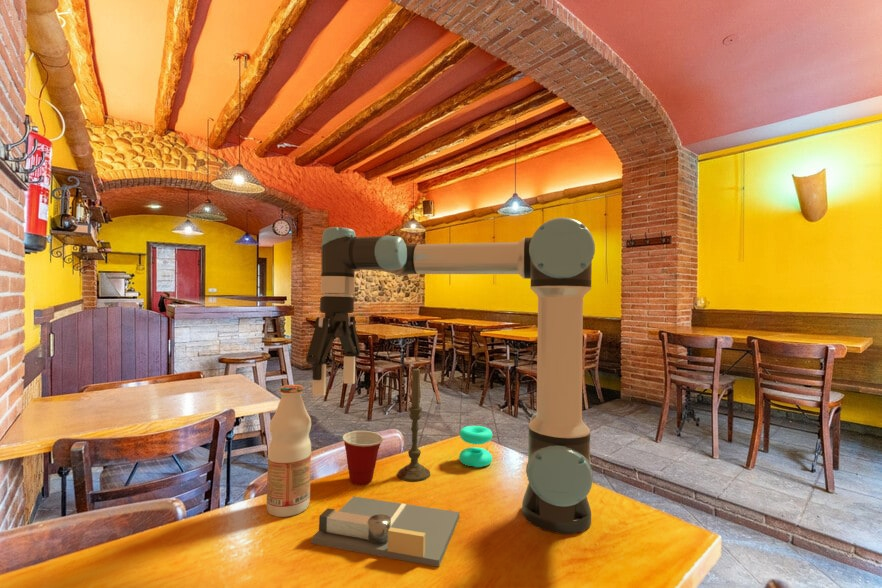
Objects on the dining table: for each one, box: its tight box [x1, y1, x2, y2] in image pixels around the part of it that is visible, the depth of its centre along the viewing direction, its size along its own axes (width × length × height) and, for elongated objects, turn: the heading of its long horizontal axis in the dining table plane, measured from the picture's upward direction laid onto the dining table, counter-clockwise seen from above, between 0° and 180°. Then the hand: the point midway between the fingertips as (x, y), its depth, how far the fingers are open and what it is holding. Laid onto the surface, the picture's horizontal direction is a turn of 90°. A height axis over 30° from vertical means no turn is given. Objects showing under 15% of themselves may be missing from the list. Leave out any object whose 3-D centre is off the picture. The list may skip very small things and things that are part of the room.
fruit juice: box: [266, 384, 312, 518], centre depth 95 cm, size 9×9×28 cm
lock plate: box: [311, 496, 460, 568], centre depth 86 cm, size 26×18×5 cm
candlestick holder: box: [397, 367, 431, 482], centre depth 115 cm, size 9×9×30 cm
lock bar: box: [318, 508, 391, 543], centre depth 82 cm, size 14×4×3 cm, turn 75°
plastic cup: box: [342, 430, 384, 486], centre depth 110 cm, size 11×11×12 cm
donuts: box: [458, 425, 493, 468], centre depth 124 cm, size 10×10×10 cm
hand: (334, 388), depth 93 cm, fingers open, 13 cm apart
